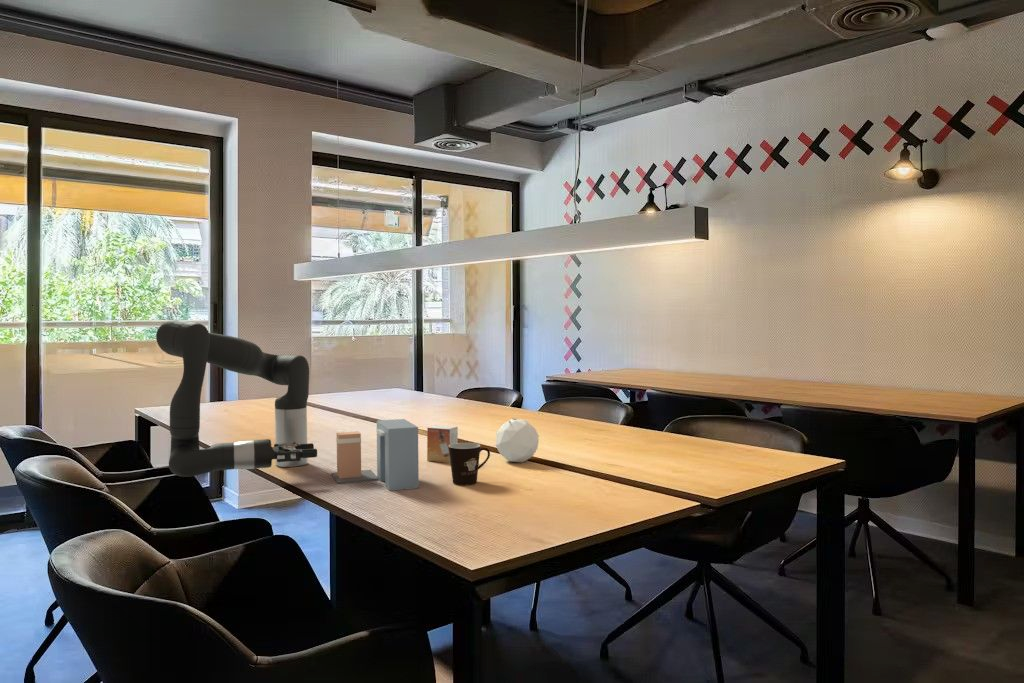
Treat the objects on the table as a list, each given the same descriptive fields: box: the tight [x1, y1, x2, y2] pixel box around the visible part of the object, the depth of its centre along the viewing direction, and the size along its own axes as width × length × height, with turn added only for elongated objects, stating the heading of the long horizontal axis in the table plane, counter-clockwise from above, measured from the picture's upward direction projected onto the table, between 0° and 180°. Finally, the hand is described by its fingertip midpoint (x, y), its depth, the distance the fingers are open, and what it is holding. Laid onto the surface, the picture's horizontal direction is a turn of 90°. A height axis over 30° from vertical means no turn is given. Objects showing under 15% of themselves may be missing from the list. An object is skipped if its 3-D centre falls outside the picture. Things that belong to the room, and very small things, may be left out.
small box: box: [426, 425, 459, 464], centre depth 225 cm, size 8×6×10 cm
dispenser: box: [376, 418, 420, 492], centre depth 195 cm, size 16×9×16 cm, turn 21°
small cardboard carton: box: [335, 431, 362, 478], centre depth 201 cm, size 4×6×12 cm
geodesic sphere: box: [495, 417, 540, 463], centre depth 222 cm, size 14×14×14 cm
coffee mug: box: [449, 442, 491, 486], centre depth 195 cm, size 12×9×10 cm
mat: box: [331, 469, 380, 485], centre depth 202 cm, size 12×11×1 cm
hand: (315, 450), depth 198 cm, fingers open, 8 cm apart
